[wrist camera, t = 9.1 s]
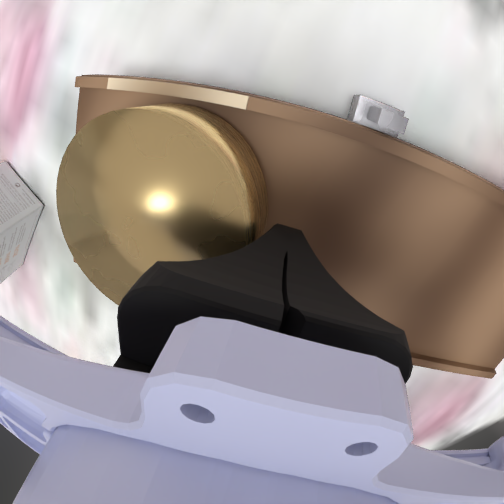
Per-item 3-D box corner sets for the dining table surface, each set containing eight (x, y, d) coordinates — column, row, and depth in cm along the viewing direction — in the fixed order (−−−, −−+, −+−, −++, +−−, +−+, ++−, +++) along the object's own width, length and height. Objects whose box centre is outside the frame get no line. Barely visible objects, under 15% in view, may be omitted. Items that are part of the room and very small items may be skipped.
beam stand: (393, 109, 13) (423, 116, 9) (316, 312, 19) (314, 365, 15) (354, 94, 13) (371, 95, 9) (285, 303, 19) (277, 356, 15)
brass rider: (298, 139, 10) (283, 153, 8) (236, 308, 15) (213, 352, 12) (115, 87, 11) (65, 91, 9) (97, 243, 15) (59, 270, 13)
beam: (565, 231, 11) (581, 244, 9) (484, 361, 16) (491, 380, 14) (97, 74, 12) (74, 75, 11) (89, 249, 17) (73, 263, 16)
